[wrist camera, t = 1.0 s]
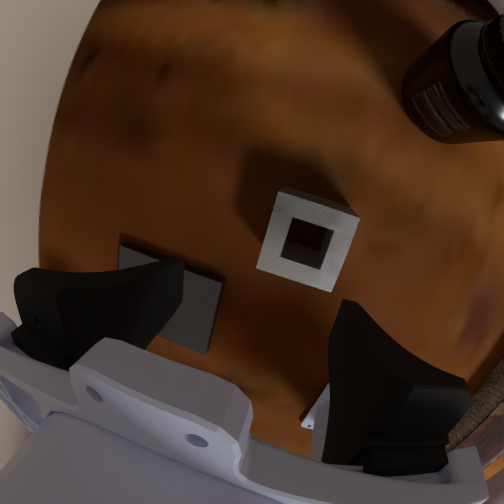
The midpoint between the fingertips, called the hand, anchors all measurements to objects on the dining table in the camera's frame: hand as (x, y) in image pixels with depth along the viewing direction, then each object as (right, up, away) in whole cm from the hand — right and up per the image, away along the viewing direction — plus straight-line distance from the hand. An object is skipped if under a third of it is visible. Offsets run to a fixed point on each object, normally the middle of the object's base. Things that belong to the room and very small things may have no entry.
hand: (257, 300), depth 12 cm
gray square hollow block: (+4, +4, +8) cm, 10 cm away
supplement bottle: (+14, +13, +3) cm, 19 cm away
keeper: (-8, -2, +13) cm, 15 cm away
